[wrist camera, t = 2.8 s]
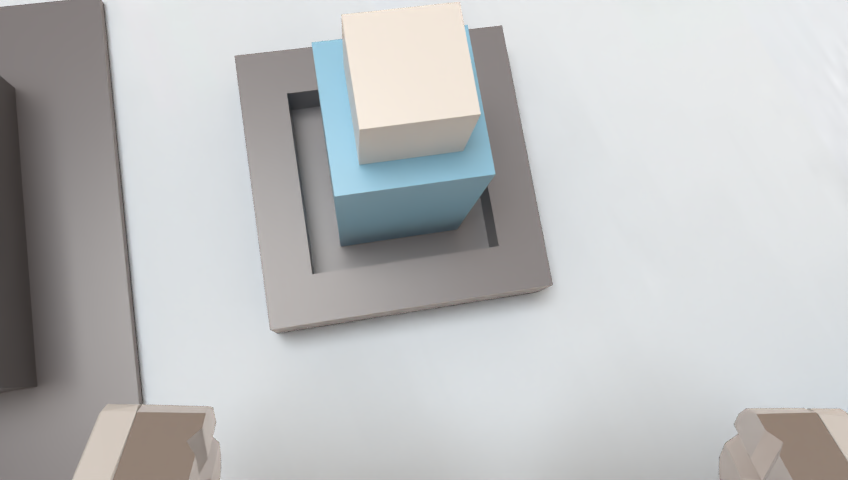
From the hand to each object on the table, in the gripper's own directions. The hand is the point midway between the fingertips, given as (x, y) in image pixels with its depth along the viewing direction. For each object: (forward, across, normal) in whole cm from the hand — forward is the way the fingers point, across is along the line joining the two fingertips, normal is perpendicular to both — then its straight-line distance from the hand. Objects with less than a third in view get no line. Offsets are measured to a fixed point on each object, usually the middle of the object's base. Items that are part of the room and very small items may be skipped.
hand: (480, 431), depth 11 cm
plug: (+14, -1, -4) cm, 15 cm away
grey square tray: (+14, -1, -4) cm, 15 cm away
